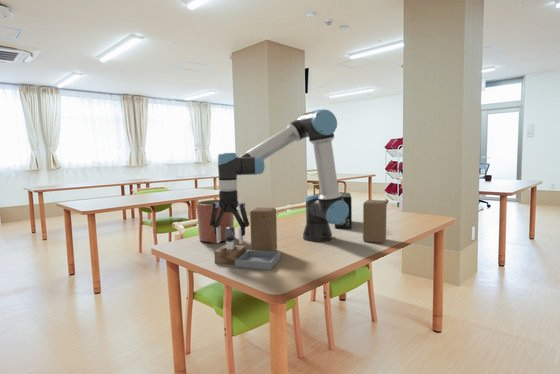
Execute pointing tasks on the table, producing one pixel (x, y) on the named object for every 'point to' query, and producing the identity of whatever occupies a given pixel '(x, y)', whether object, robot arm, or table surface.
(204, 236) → the planter
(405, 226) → the table surface
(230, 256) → the block
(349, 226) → the box
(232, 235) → the cylinder
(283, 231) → the table surface
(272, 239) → the wooden block
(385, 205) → the block
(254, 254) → the tray
